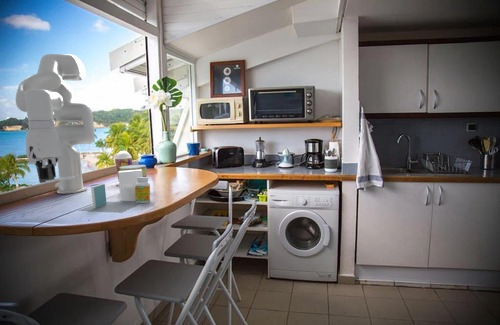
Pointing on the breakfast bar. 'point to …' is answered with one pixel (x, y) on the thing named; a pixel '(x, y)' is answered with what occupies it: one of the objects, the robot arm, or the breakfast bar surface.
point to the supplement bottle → (142, 190)
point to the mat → (112, 207)
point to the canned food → (134, 168)
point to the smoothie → (122, 160)
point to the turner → (51, 177)
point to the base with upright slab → (128, 184)
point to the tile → (98, 195)
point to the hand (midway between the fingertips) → (48, 177)
